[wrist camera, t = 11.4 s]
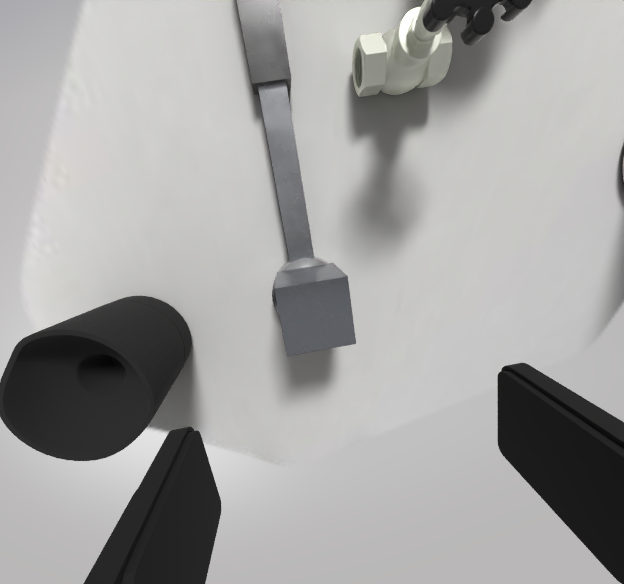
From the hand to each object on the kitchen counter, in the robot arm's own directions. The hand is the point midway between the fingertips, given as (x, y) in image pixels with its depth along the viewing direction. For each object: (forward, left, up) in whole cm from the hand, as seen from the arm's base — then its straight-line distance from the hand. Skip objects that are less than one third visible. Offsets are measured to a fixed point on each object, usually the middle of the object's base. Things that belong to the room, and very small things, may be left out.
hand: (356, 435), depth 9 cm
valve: (-10, -17, -20) cm, 28 cm away
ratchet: (0, -11, -20) cm, 23 cm away
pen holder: (+16, +2, -20) cm, 26 cm away
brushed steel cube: (0, 0, -18) cm, 18 cm away
